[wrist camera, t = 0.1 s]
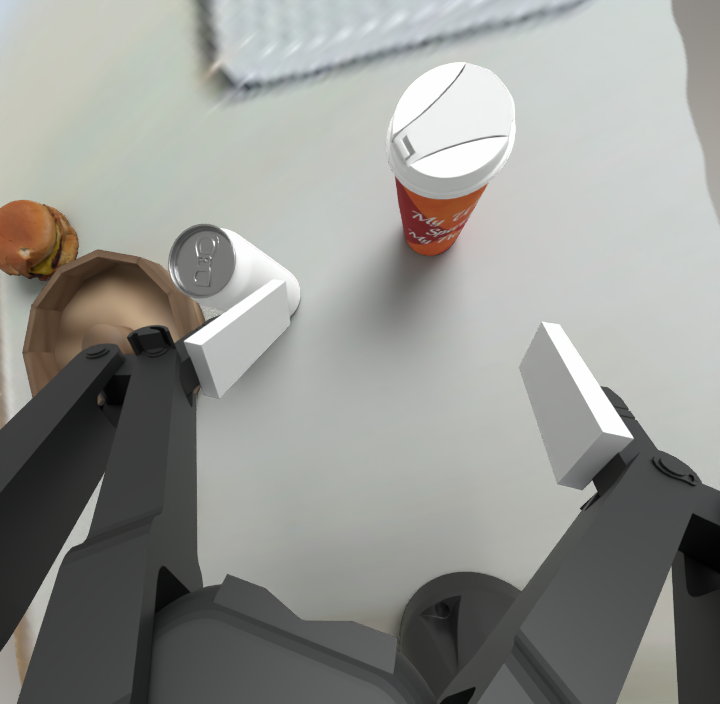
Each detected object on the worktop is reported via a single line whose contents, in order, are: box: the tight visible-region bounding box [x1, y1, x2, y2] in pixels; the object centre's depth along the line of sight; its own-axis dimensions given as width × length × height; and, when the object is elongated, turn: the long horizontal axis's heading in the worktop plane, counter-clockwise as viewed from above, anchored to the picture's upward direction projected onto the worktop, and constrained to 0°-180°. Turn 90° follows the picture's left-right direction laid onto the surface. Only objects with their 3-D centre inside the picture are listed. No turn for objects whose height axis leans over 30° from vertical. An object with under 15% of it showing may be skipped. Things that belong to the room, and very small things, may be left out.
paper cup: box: [386, 62, 515, 256], centre depth 23 cm, size 8×8×14 cm
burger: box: [0, 200, 78, 281], centre depth 36 cm, size 10×10×5 cm
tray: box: [22, 250, 205, 404], centre depth 34 cm, size 22×22×4 cm
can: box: [168, 224, 300, 316], centre depth 27 cm, size 6×6×12 cm
